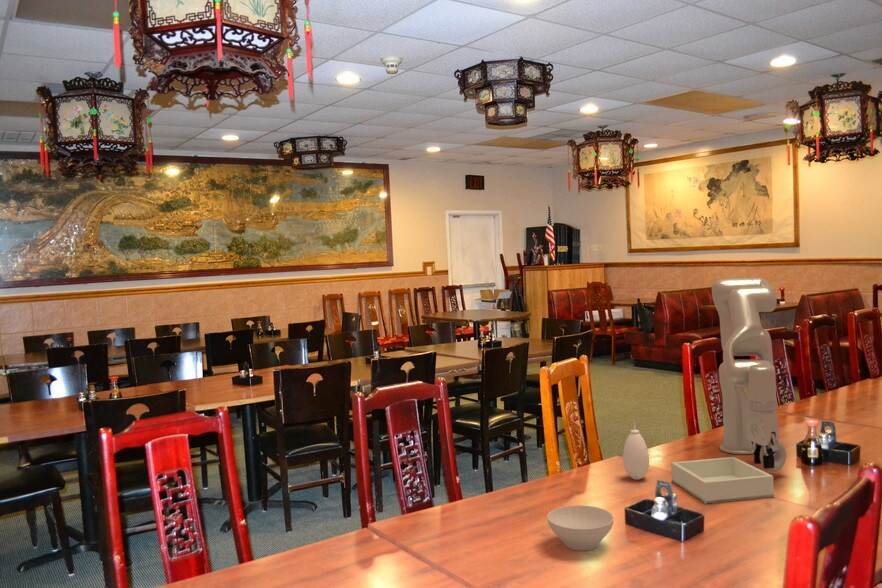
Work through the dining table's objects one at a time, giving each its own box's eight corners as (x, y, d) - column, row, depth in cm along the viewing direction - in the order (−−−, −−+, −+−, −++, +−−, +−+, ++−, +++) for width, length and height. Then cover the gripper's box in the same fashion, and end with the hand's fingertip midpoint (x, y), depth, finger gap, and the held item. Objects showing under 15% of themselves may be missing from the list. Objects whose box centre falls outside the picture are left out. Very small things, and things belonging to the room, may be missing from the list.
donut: (780, 467, 217) (777, 435, 217) (790, 469, 214) (787, 436, 214) (758, 473, 212) (755, 441, 212) (768, 476, 209) (765, 442, 209)
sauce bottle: (650, 483, 214) (648, 424, 214) (624, 482, 216) (622, 424, 215) (648, 475, 222) (646, 419, 221) (623, 475, 224) (620, 419, 223)
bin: (671, 481, 214) (671, 462, 214) (734, 475, 217) (733, 456, 217) (705, 504, 194) (704, 482, 194) (774, 497, 197) (773, 476, 196)
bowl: (568, 527, 182) (567, 501, 182) (626, 540, 172) (624, 512, 172) (535, 549, 170) (534, 520, 170) (596, 564, 160) (594, 534, 160)
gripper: (735, 401, 219) (737, 458, 220) (767, 413, 202) (769, 475, 203) (758, 399, 220) (759, 456, 221) (791, 411, 203) (793, 473, 204)
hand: (764, 465), depth 212 cm, fingers closed on donut, 4 cm apart
